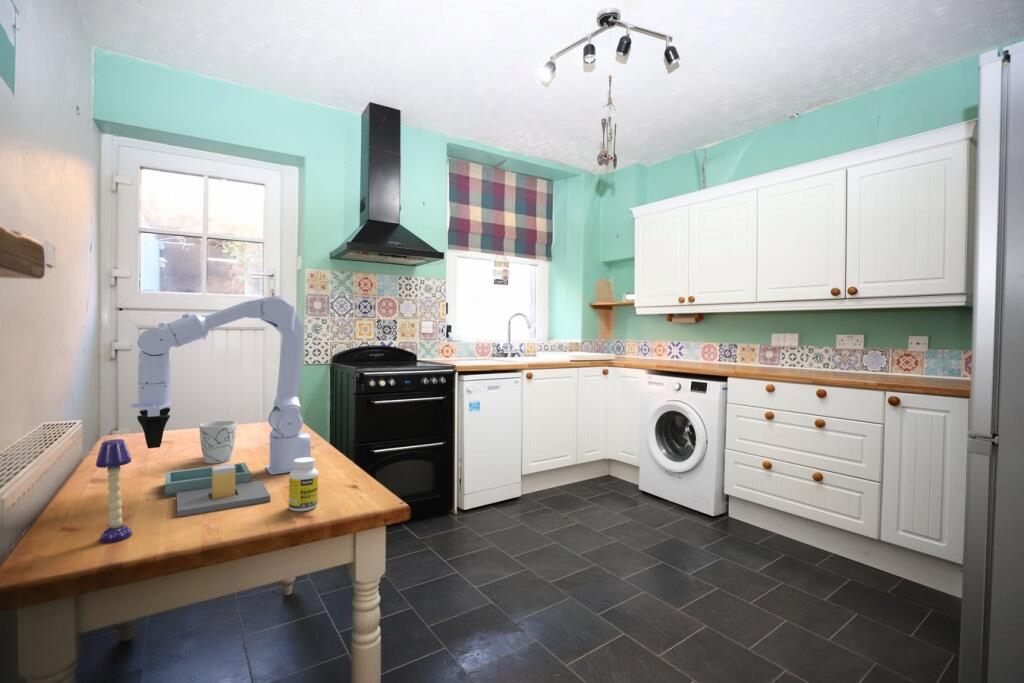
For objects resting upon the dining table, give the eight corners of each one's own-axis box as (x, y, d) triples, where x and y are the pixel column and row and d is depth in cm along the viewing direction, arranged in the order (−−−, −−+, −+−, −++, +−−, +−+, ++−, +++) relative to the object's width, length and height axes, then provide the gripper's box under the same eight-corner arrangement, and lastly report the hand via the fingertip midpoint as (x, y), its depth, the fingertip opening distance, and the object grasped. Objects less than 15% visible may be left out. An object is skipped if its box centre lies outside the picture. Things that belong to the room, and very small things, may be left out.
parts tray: (244, 473, 120) (244, 462, 120) (250, 484, 112) (250, 472, 112) (165, 484, 111) (165, 472, 111) (164, 497, 103) (165, 484, 103)
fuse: (233, 496, 104) (233, 463, 104) (235, 500, 102) (235, 467, 102) (211, 499, 102) (211, 466, 102) (212, 504, 100) (213, 470, 99)
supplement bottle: (299, 514, 95) (300, 464, 95) (283, 508, 98) (283, 460, 98) (323, 506, 100) (324, 458, 100) (307, 500, 103) (307, 454, 102)
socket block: (261, 485, 112) (261, 480, 111) (270, 501, 102) (270, 495, 102) (176, 498, 102) (176, 492, 102) (177, 517, 92) (177, 510, 92)
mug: (188, 459, 132) (188, 422, 131) (221, 453, 139) (221, 418, 138) (208, 466, 125) (208, 428, 125) (241, 460, 132) (242, 423, 132)
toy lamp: (92, 545, 80) (92, 444, 80) (100, 534, 84) (100, 438, 84) (128, 540, 82) (128, 442, 82) (134, 529, 86) (135, 436, 86)
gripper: (133, 380, 111) (133, 439, 111) (129, 387, 99) (129, 453, 99) (171, 379, 115) (171, 436, 115) (171, 385, 103) (171, 449, 103)
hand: (154, 444), depth 108 cm, fingers open, 7 cm apart
